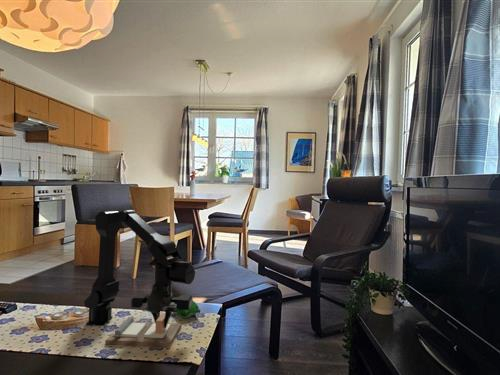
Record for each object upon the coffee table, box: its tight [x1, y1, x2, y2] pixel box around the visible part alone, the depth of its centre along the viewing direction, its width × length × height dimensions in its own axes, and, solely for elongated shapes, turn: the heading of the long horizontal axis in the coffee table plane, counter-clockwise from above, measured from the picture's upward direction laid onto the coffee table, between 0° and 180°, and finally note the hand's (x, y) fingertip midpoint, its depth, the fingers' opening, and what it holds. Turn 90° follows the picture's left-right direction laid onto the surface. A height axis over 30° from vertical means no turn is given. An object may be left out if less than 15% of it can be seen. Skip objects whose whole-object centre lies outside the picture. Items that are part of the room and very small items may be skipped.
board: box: [104, 320, 182, 349], centre depth 98 cm, size 20×13×2 cm, turn 88°
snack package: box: [174, 296, 202, 319], centre depth 116 cm, size 7×16×5 cm, turn 34°
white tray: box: [112, 316, 147, 337], centre depth 98 cm, size 8×10×2 cm
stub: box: [144, 312, 171, 338], centre depth 98 cm, size 6×8×5 cm
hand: (161, 327), depth 97 cm, fingers closed on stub, 2 cm apart
